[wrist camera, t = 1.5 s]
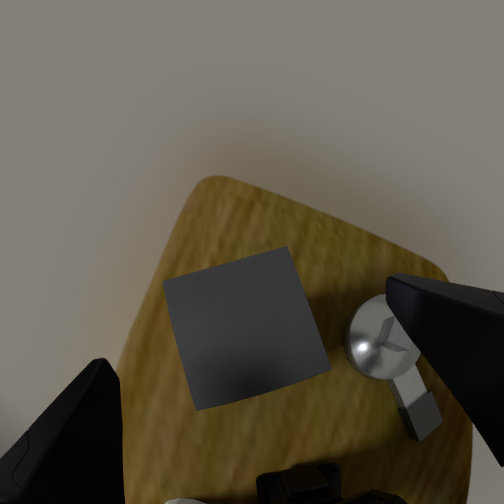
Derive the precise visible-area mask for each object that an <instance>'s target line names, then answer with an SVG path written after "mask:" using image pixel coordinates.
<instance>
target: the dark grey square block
mask: <svg viewBox="0 0 504 504" xmlns="http://www.w3.org/2000/svg"><path fill="white" fill-rule="evenodd" d="M162 282H163V287H164V291H165V296H166V301H167V305H168V310H169V314H170V318H171V323H172V327H173V331H174V335H175V339H176V343H177V346H178V350H179V354H180V358H181V361H182V365H183V368H184V372H185V375H186V379H187V382H188V385H189V388H190V392H191V395H192V398H193V401H194V404H195V407H196V410H197V411H198V410H203V409H207V408H212V407H216V406H220V405H224V404H228V403H232V402H236V401H239V400H243V399H247V398H250V397H254V396H257V395H260V394H264V393H267V392H270V391H273V390H276V389H279V388H282V387H285V386H288V385H291V384H294V383H297V382H300V381H302V380H305V379H308V378H311V377H313V376H316V375H318V374H321V373H324V372H326V371H329V370H331V369H332V368H331V365H330V363H329V360H328V357H327V354H326V351H325V348H324V345H323V342H322V339H321V336H320V334H319V331H318V328H317V325H316V322H315V320H314V317H313V314H312V311H311V308H310V306H309V303H308V300H307V298H306V295H305V292H304V289H303V287H302V284H301V281H300V279H299V276H298V273H297V271H296V268H295V265H294V263H293V260H292V258H291V255H290V252H289V250H288V247H287V246H286V247H282V248H279V249H275V250H272V251H268V252H265V253H261V254H258V255H254V256H250V257H247V258H243V259H240V260H236V261H233V262H229V263H226V264H222V265H219V266H215V267H211V268H208V269H204V270H201V271H197V272H194V273H190V274H186V275H183V276H179V277H176V278H172V279H168V280H165V281H162Z"/></svg>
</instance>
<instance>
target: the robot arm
mask: <svg viewBox="0 0 504 504" xmlns="http://www.w3.org/2000/svg"><path fill="white" fill-rule="evenodd" d="M385 298H386V303H387V305H388V307H389V308H390V310H391V311H392V313H393V314H394V316H395V317H396V319H397V320H398V322H399V323H400V325H401V326H402V328H403V329H404V331H405V332H406V334H407V335H408V337H409V338H410V339H411V341H412V342H413V343H414V345H415V346H416V347H417V348H418V350H419V351H420V352H421V353H422V355H423V356H424V357H425V358H426V360H427V361H428V362H429V363H430V365H431V366H432V367H433V369H434V370H435V371H436V372H437V374H438V375H439V376H440V378H441V379H442V380H443V382H444V383H445V384H446V386H447V387H448V388H449V390H450V391H451V393H452V394H453V395H454V397H455V398H456V399H457V401H458V402H459V404H460V405H461V406H462V408H463V409H464V411H465V412H466V413H467V415H468V416H469V418H470V419H471V421H472V422H473V424H474V425H475V427H476V428H477V430H478V431H479V433H480V434H481V436H482V437H483V439H484V441H485V442H486V444H487V445H488V447H489V448H490V450H491V452H492V453H493V455H494V456H495V458H496V460H497V461H498V463H499V464H500V466H501V467H503V466H504V293H503V292H497V291H490V290H487V289H481V288H476V287H471V286H466V285H460V284H455V283H450V282H445V281H440V280H434V279H429V278H424V277H418V276H413V275H408V274H402V273H396V274H393V275H391V276H389V277H388V278H387V281H386V297H385ZM122 437H123V424H122V410H121V394H120V381H119V378H118V376H117V374H116V373H115V371H114V370H113V368H112V367H111V365H110V364H109V362H108V361H107V360H106V359H105V358H99V359H94V360H92V361H91V362H90V363H89V364H88V365H87V366H86V368H84V370H83V371H81V373H80V374H79V375H78V376H77V377H76V378H75V379H74V380H73V381H72V382H71V383H70V384H69V385H68V386H67V387H66V388H65V389H64V390H63V391H62V393H61V394H60V395H59V396H58V397H57V398H56V399H55V400H54V401H53V402H52V403H51V404H50V405H49V406H48V407H47V409H46V410H45V411H44V412H43V413H42V414H41V415H40V416H39V418H37V420H36V421H35V422H34V423H33V424H32V425H31V426H30V427H29V430H27V431H26V432H25V433H24V434H23V435H22V436H21V438H19V440H18V441H17V442H16V443H15V444H14V445H13V446H12V447H11V448H10V449H9V450H8V451H7V452H6V453H5V454H4V455H3V456H2V457H1V458H0V504H125V496H124V481H123V448H122ZM333 467H336V468H335V470H333V471H331V469H332V468H333ZM261 479H265V480H266V481H265V482H260V480H261ZM256 486H257V494H258V502H259V504H407V503H406V502H405V501H404V500H403V499H402V498H401V497H399V496H397V495H394V494H390V493H386V492H382V491H378V490H374V489H371V490H369V491H365V490H364V491H362V492H360V493H358V494H355V495H353V496H351V497H349V498H347V499H343V498H342V497H341V480H340V466H339V465H338V464H336V463H331V464H327V465H322V466H315V465H311V466H306V467H300V468H294V469H287V470H283V471H282V472H281V473H273V474H264V475H259V476H258V477H257V478H256Z"/></svg>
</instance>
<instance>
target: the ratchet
mask: <svg viewBox="0 0 504 504" xmlns="http://www.w3.org/2000/svg"><path fill="white" fill-rule="evenodd" d="M385 297H386V294H382V295H378V296H375V297H373V298H371V299H369V300H368V301H366V302H364V303H363V304H361V305H360V306H359V307H358V308H356V309H355V311H354V312H353V313H352V314H351V316H350V317H349V319H348V322H347V324H346V327H345V331H344V348H345V352H346V356H347V358H348V360H349V362H350V363H351V365H352V366H353V367H354V369H355V370H357V371H358V372H359V373H360V374H362V375H364V376H366V377H369V378H373V379H386V380H387V382H388V384H389V386H390V388H391V390H392V392H393V395H394V397H395V399H396V401H397V403H398V406H399V408H398V411H399V413H400V416H401V418H402V420H403V422H404V425H405V427H406V429H407V432H408V434H409V437H410V439H412V440H415V441H418V442H421V441H422V440H423V439H424V438H425V437H427V436H428V435H429V434H430V433H431V432H432V431H433V430H435V429H436V428H437V427H438V426H439V425H440V424H441V423H442V422H443V419H442V417H441V414H440V411H439V409H438V406H437V403H436V401H435V398H434V396H433V393H432V391H427V390H426V388H425V386H424V383H423V381H422V378H421V376H420V374H419V372H418V369H417V367H416V365H415V363H416V361H417V360H418V358H419V356H420V353H421V352H420V351H419V350H418V348H417V347H416V346H415V345H414V343H413V342H412V341H411V339H410V338H409V337H408V335H407V334H406V332H405V331H404V329H403V328H402V326H401V325H400V323H399V322H398V320H397V319H396V317H395V316H394V314H393V313H392V311H391V310H390V308H389V307H388V305H387V303H386V298H385Z"/></svg>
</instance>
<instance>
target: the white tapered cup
mask: <svg viewBox="0 0 504 504" xmlns="http://www.w3.org/2000/svg"><path fill="white" fill-rule="evenodd" d="M165 504H206V503H203V502H200V501H198V500H195V499H185V498H178V499H174V500H169V501H168V502H166V503H165Z"/></svg>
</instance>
